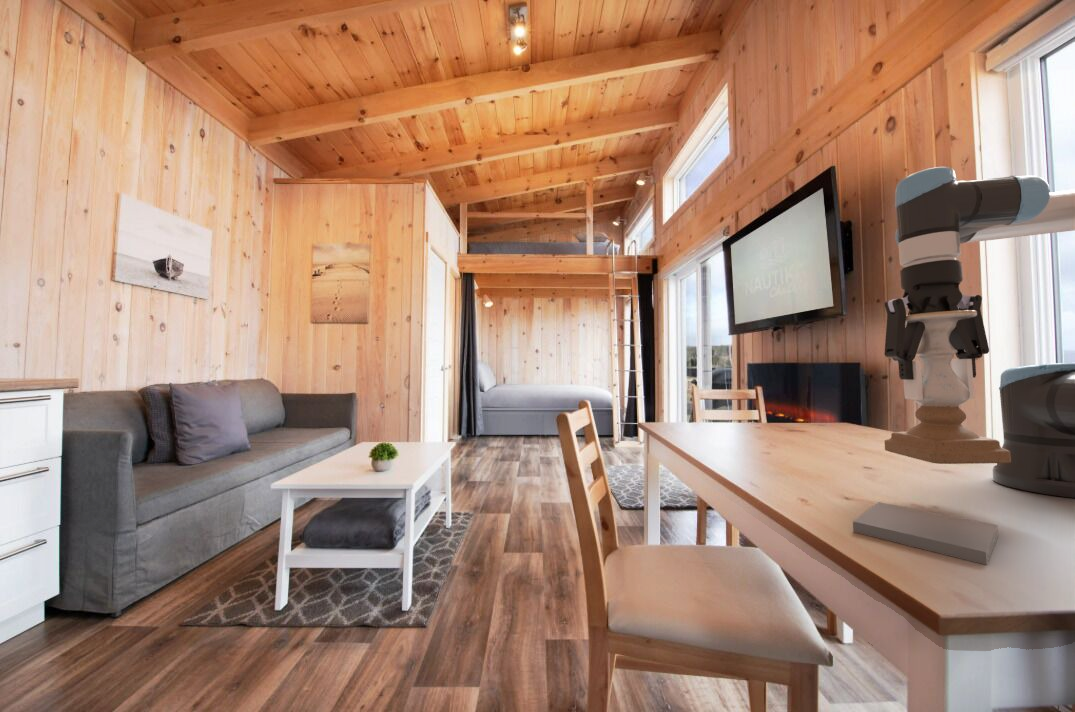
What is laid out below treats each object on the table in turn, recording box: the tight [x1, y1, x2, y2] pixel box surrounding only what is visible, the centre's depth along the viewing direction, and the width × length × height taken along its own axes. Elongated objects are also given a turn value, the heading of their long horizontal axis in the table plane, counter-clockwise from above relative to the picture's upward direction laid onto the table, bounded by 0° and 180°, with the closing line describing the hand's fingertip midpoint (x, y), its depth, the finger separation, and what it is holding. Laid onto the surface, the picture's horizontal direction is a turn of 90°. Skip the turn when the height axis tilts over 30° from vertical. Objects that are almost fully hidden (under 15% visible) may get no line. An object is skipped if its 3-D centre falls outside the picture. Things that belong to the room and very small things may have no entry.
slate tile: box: [852, 501, 999, 566], centre depth 58 cm, size 13×13×2 cm
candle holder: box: [884, 310, 1011, 465], centre depth 68 cm, size 11×11×24 cm
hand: (938, 398), depth 68 cm, fingers closed on candle holder, 7 cm apart
